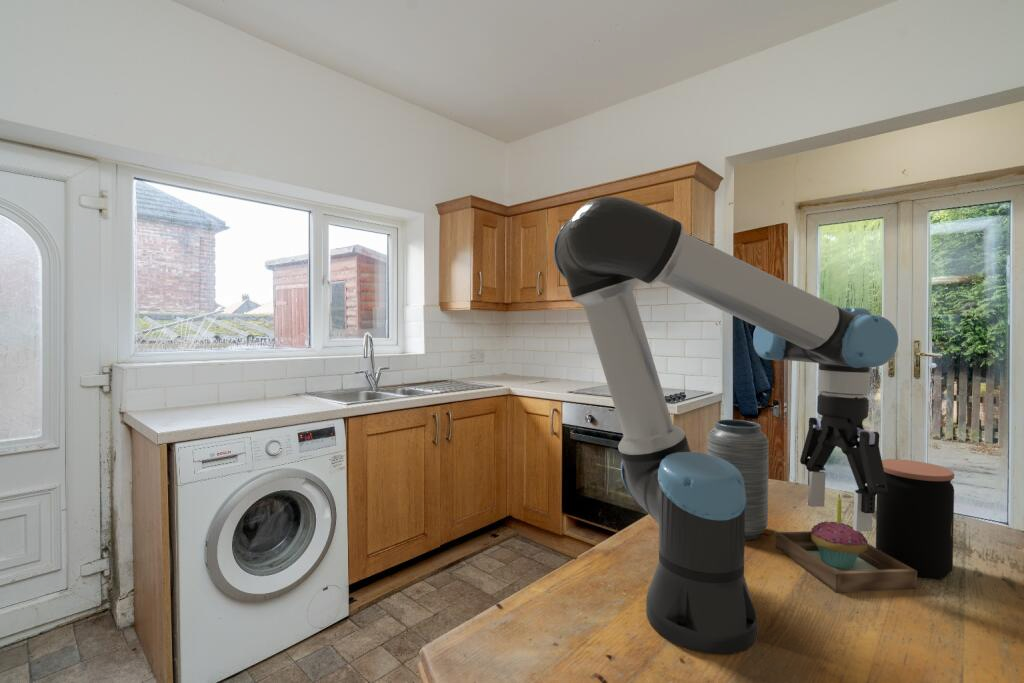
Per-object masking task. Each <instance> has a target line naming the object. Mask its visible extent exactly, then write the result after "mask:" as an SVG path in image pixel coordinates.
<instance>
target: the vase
mask: <svg viewBox="0 0 1024 683" xmlns="http://www.w3.org/2000/svg"><path fill="white" fill-rule="evenodd" d="M714 423H715V424H714V427H713V428H712V429H711V430H710V431H709V432H708V434H707V455H710V456H711V457H718V458H721V459H723V460H725V461H727V462H729V463H731V464H732V465H734V466H735V467H736V468H737V469H738V470H739V471H740V473H741V474H742V476H743V479H744V487H745V493H746V506H745V540H744V541H747V540H754V539H757V538H759V537H760V534H762V533H763V532H765V530H766V529H767V526H768V524H769V521H768V520H769V519H768V518H769V454H770V452H769V450H770V449H769V448H770V446H769V445H770V442H769V437H768V436H767V435H766V434H765V432H763V431H762V426H761V424H760V423H758V422H754V421H750V420H742V419H718V420H716V421H715V422H714Z"/></svg>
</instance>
